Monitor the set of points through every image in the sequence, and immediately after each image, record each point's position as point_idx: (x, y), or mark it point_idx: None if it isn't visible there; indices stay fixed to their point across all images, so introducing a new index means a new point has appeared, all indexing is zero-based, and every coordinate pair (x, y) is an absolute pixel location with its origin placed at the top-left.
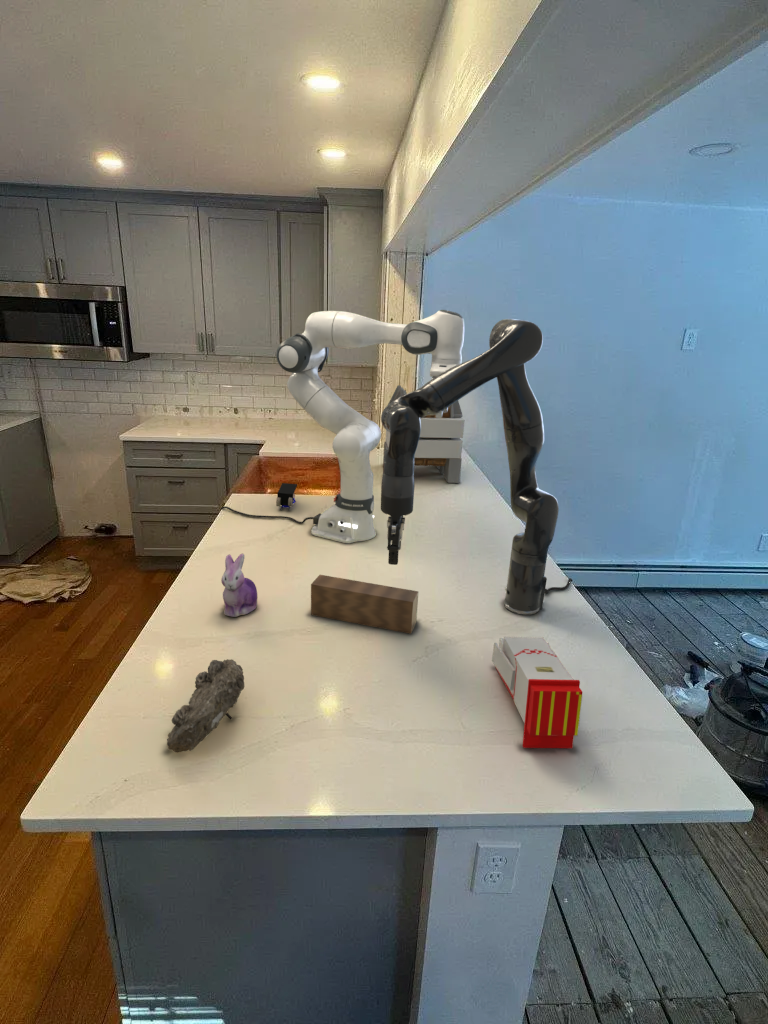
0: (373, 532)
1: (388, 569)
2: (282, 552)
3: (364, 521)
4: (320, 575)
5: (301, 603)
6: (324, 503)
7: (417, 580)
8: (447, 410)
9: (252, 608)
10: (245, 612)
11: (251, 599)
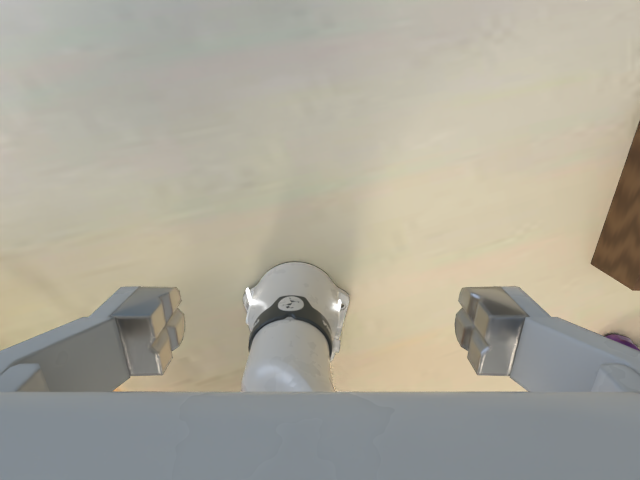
0: (298, 268)
1: (441, 197)
2: (417, 370)
3: (318, 296)
4: (637, 288)
5: (589, 287)
6: (169, 389)
7: (478, 132)
8: (130, 293)
9: (620, 337)
10: (630, 340)
11: (636, 347)
